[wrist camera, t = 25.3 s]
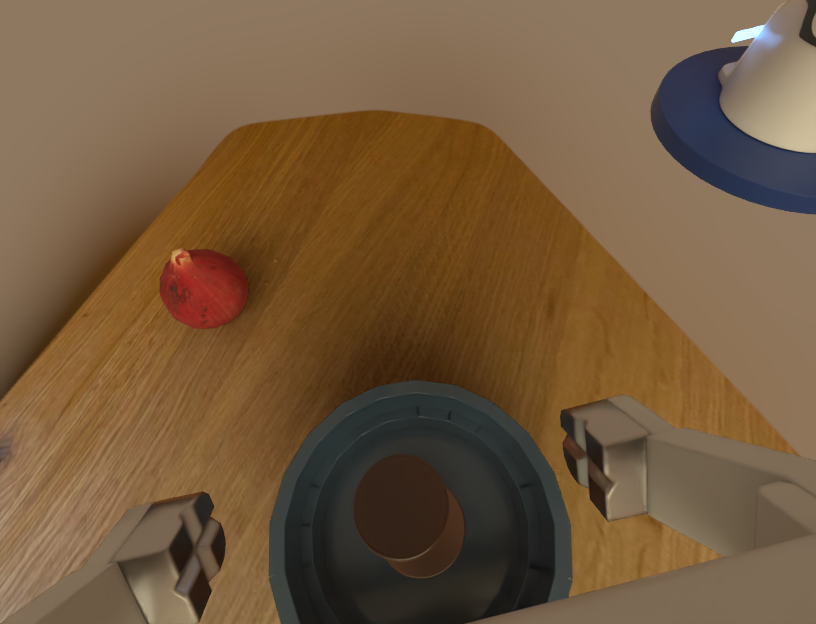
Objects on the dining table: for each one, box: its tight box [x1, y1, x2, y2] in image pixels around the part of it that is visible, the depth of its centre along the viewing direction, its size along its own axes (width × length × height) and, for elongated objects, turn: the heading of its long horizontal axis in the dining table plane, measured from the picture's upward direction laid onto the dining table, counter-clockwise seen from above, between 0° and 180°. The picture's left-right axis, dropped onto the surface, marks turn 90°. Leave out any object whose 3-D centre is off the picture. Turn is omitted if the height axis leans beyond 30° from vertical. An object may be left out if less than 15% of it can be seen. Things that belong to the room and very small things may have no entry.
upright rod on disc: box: [353, 454, 465, 579], centre depth 16 cm, size 5×5×18 cm
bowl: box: [269, 380, 573, 624], centre depth 22 cm, size 15×15×6 cm
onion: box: [160, 248, 249, 329], centre depth 30 cm, size 6×6×8 cm
